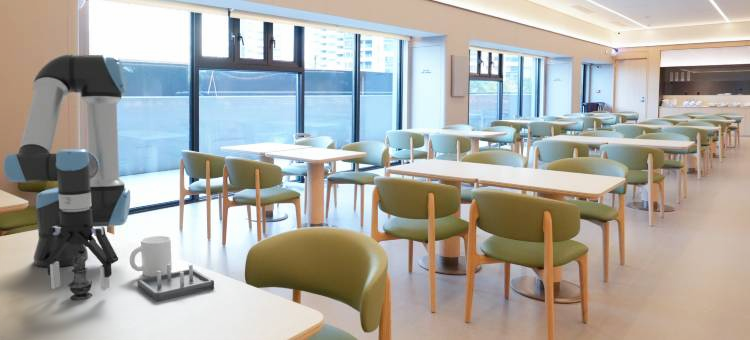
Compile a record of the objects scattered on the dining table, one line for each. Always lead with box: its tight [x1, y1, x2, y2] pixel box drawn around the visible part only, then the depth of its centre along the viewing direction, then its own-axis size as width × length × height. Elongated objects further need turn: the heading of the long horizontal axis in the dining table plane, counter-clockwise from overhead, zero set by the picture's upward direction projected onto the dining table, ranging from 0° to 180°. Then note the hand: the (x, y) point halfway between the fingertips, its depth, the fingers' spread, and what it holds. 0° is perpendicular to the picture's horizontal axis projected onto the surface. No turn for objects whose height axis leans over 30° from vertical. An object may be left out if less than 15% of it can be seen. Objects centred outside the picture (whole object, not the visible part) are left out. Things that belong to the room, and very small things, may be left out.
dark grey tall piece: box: [67, 253, 94, 301], centre depth 155 cm, size 6×6×12 cm
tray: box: [136, 264, 215, 303], centre depth 163 cm, size 14×16×6 cm
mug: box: [129, 235, 173, 278], centre depth 174 cm, size 12×8×10 cm
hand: (80, 287), depth 155 cm, fingers open, 13 cm apart
